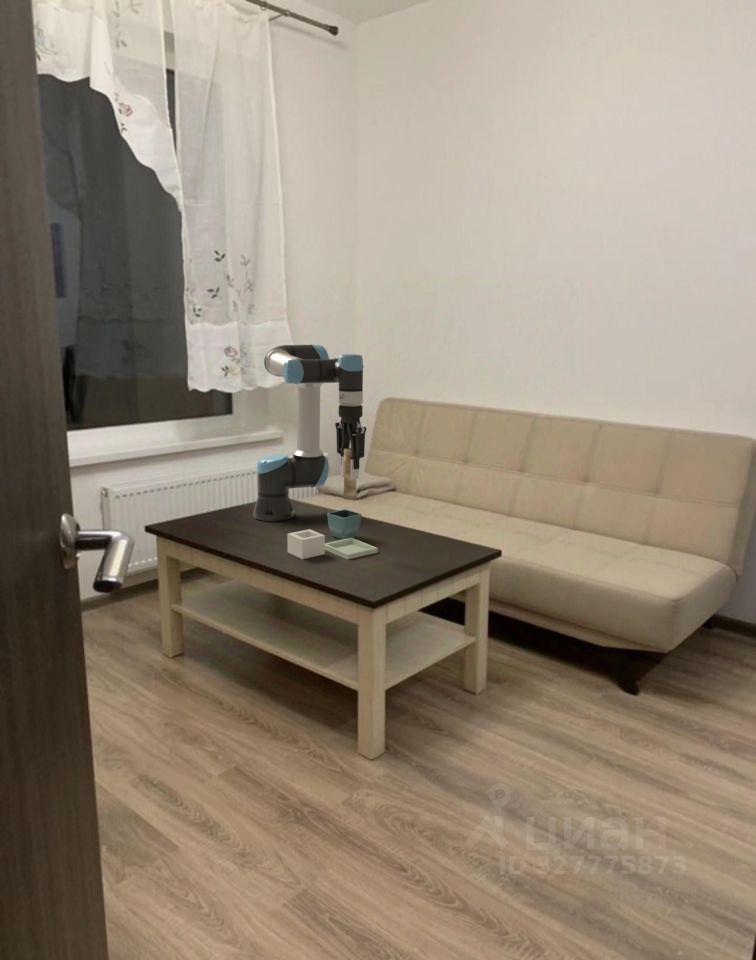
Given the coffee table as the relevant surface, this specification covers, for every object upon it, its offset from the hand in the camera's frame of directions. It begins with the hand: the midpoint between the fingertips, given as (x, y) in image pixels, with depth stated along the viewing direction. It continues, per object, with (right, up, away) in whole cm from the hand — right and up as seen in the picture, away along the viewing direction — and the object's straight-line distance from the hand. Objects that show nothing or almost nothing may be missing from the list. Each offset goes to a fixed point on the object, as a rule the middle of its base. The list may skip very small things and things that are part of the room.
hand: (350, 477), depth 240 cm
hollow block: (-14, -25, +2) cm, 29 cm away
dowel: (0, -7, +1) cm, 7 cm away
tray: (0, -25, +6) cm, 25 cm away
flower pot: (-3, -21, +21) cm, 30 cm away
